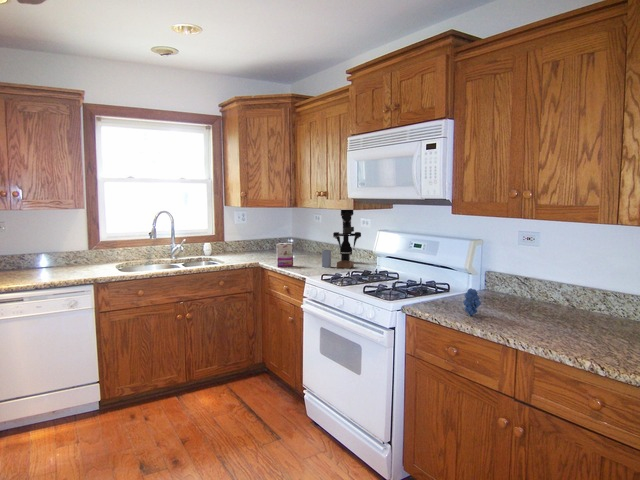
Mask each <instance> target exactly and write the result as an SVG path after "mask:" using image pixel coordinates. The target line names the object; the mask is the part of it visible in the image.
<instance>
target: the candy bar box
mask: <svg viewBox="0 0 640 480" xmlns="http://www.w3.org/2000/svg"><path fill="white" fill-rule="evenodd" d="M276 267H277V268H287V267H288V268H289V267H294V244H293V243H292V242H286V243H285V242H283V243H276Z"/></svg>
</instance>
